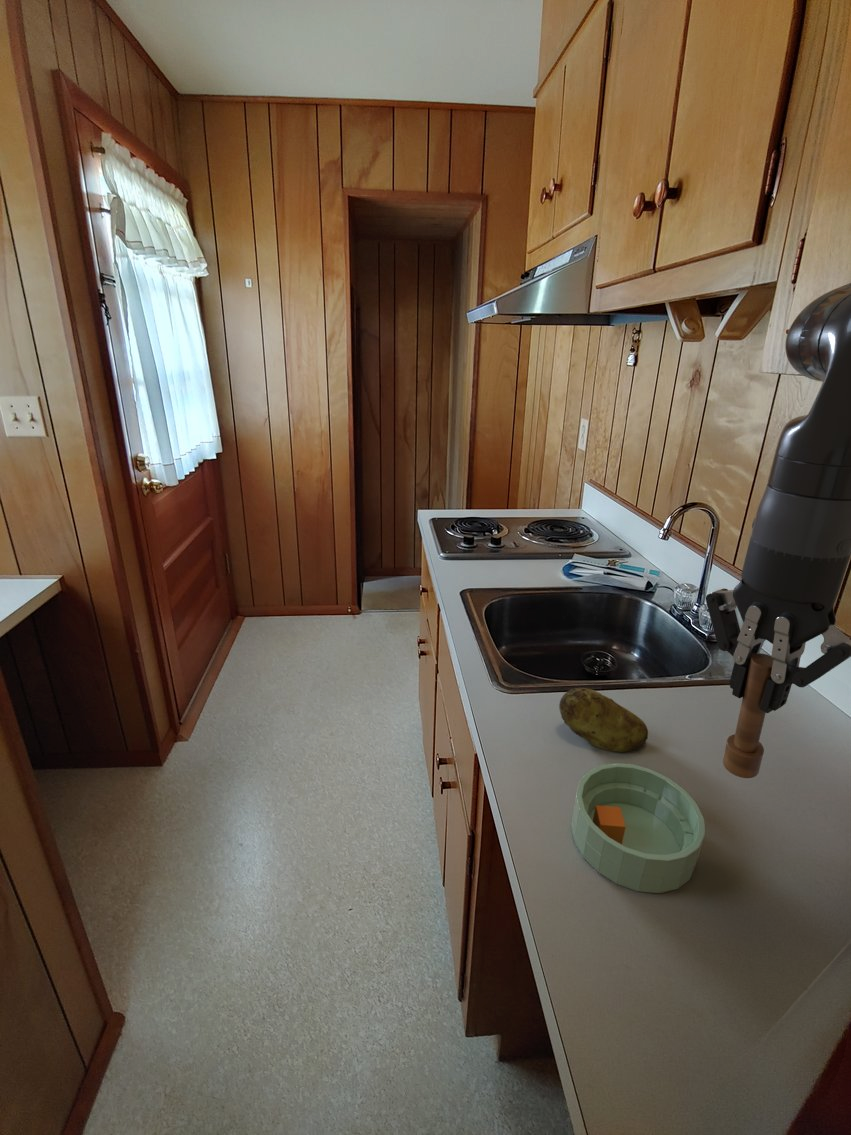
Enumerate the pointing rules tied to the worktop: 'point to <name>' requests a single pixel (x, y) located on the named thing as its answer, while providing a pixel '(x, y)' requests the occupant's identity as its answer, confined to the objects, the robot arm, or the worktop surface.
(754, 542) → the robot arm
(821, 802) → the worktop surface
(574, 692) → the potato
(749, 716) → the wooden flanged peg
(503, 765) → the worktop surface
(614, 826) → the carrot cube
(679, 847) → the bowl
